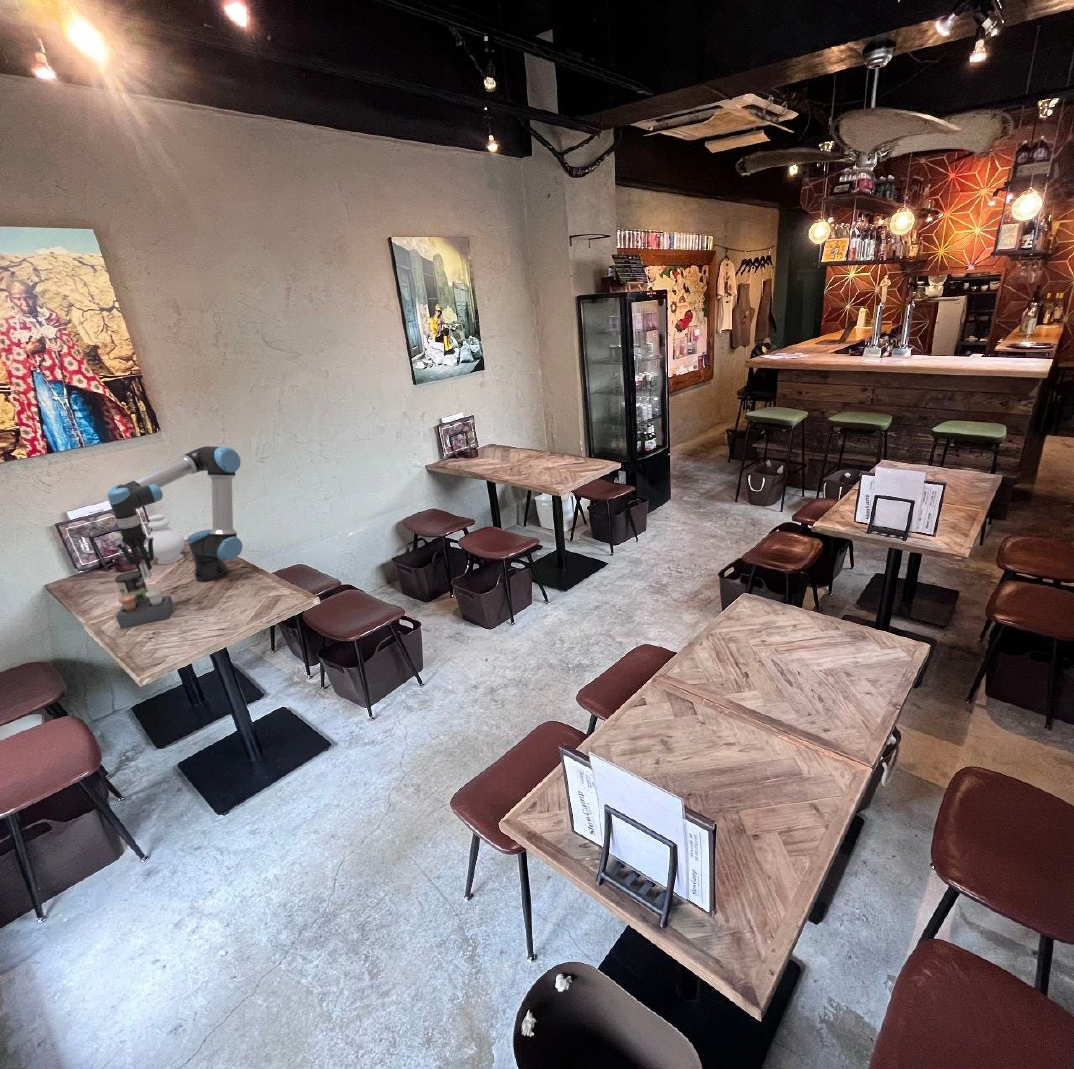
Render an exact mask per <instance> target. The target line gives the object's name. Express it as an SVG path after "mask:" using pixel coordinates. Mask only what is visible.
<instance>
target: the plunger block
mask: <svg viewBox="0 0 1074 1069" xmlns="http://www.w3.org/2000/svg"><path fill="white" fill-rule="evenodd" d="M161 597H162V600H163V604H160V605H155V606H152V605H151V603H150V600H149V599H147V600H142V601H137V602H135V603H136V606H137V608H136V609H135V610H130V611H125V610H124V607H123V605H122V606H121V608H120V609H119V611H118V612H117V614H116V616H115V617H116V620H117V623H118V625H119V628H120V629H126V628H127V629H128V628H131V627H136V626H141V625H145V624H149V623H155V622H159V621H165V620H169V619H170V617H171V615H172V612H173V610H174V608H175V605H174V602H173V599H172V596H171V594H167V595H163V596H162V595H161Z"/></svg>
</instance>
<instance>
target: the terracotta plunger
mask: <svg viewBox="0 0 1074 1069" xmlns="http://www.w3.org/2000/svg"><path fill="white" fill-rule="evenodd" d="M135 598H136V597H135V594H128V595H124V596H121V597H118V602H119V604H122V606H123V607H124V610H125V611H130V610H135V609H136V608H137V606H136V603H135V601H134V599H135Z"/></svg>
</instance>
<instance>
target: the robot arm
mask: <svg viewBox="0 0 1074 1069" xmlns="http://www.w3.org/2000/svg"><path fill="white" fill-rule="evenodd" d="M179 457H180V458H178V459H177V460H175V461H173V462H171V463H169V464H167V465H164V466H162V467H160V468H158V469H155V470H153V471H152V472H149V473H147V474H145V475H143V476H140V477H139V478H136V479H135V480H132V481H129V482H127V483H125V484H116V485H114V486H113V487H111V490H109V491H108V492H107V499H108V501H109V504H110V507H111V510H112V511H113V515H114V517H115V521H116V523H117V525H118V528H119V532H120V535H121V538H122V540H121V542H118V544H117V545H116V547H117V548H118V549H119V550H120V551H121V552H122V553H123V554H124V557H125V558H126V559H127V561H128V563H129V564H130V565H131V566H132V565H135V566H136V568H137V571H139V572H140V571H141V572H142V576H143V579H144V580H145V579H146V580H147V578H148V579H150V578H152V571H151V570H152V569H153V568H152V563H151V562H153V560H154V559H155V556H154V553H153V540H154V538H153V537H151V538H149V536H147V534H145V533H144V529H143V526H142V524H141V522H140V518H139V515H138V512H137V509H140V508H143V507H145V506H149V505H152V504H155V503H158V502H160V501H162V499H163V498H164V497H163V490H162V489H161V488H162V487H165V486H167V485H169V484H171V483H173V482H175V481H177V480H179V479H181V478H183V477H186V476H187V475H189V474H190V475H194V474H196V473H199V472H207V476H208V477H209V478H210V479H211V506H212V507H211V508H212V509H211V510H212V512H211V513H212V515H211V516H212V529H204V530H200V531H196V532H194V533H192V534H190V535H189V536H188V537H187V542H188V543H187V544H188V546H189V549H190V552H191V554H192V558H193V561H194V564H195V565H194V566H195V568H194V578H195V581H197V582H198V583H199V582H200V583H202V582H203V583H205V582H212V581H216V580H219V579H221V578H223V577H226V576H227V575H228V574H229V573H230V570H229V566H228V565H227V564H226V562H225V561H227V562H229V561H230V562H231V561H233V560H235V559H236V558H238V557H239V556H240V554H241V553H242V550H243V542H242V541H241V540H240V538H238V534H237V531H236V530H235V529H234V519H233V518H234V517H233V516H234V514H233V513H234V512H233V479H234V478H235V477H236V472H237V471H238V470H239V468H240V467H241V464H242V463H241V462H242V461H241V457H240V455H239V454H238V453H237V451H236V450H235V449H233V448H231V447H226V446H209V445H208V446H201V447H198V448H196V449H193V450H192V451H189V452H187V453H184V454H182V455H181V456H179ZM146 541H147V543H148V551H149V552H148V551H147V549H146V546H145V544H144V543H146ZM127 546H128V547H129V549H130V550H131V552H130V551H129V549H128V547H127ZM137 548H138V549H139V551H140V553H141V555H142V558H143V560H144V563H143V562H141V559H140V556H139V553H138V549H137Z"/></svg>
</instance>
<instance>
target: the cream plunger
mask: <svg viewBox="0 0 1074 1069" xmlns="http://www.w3.org/2000/svg"><path fill="white" fill-rule="evenodd" d="M162 594H163V592H162V589H161V588H155V589H151V590H148V592H146V593H145V595H146V597H147V598H149V600H150V603H151V605H152V606H155V605H160V604H163V600H162Z"/></svg>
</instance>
